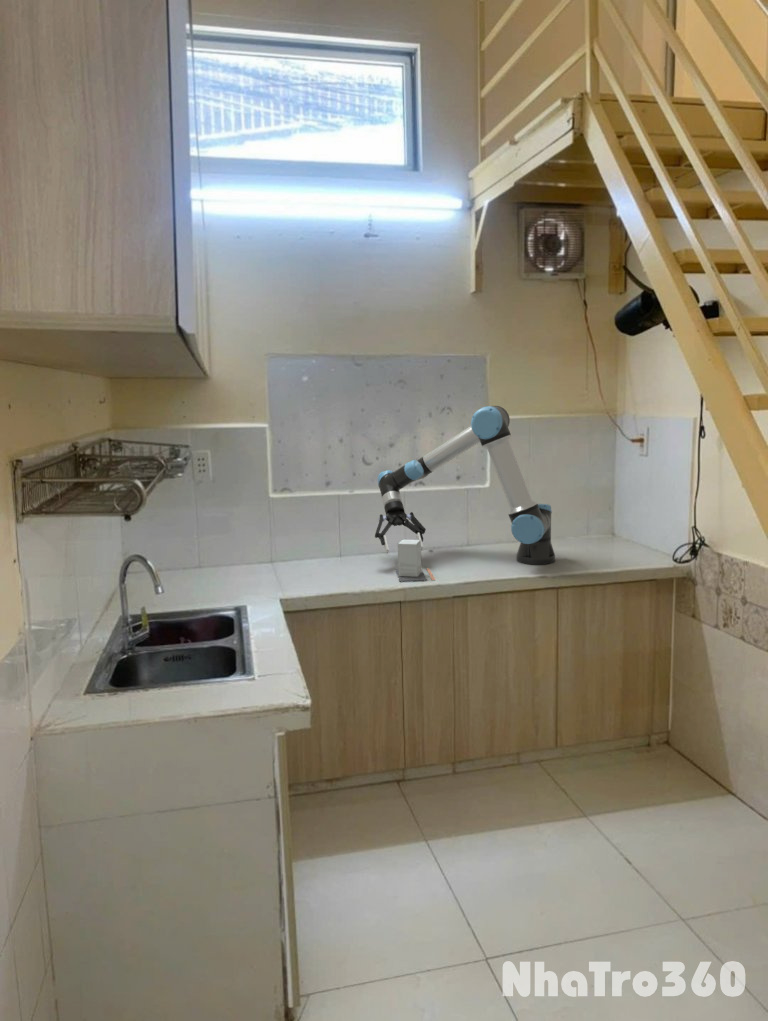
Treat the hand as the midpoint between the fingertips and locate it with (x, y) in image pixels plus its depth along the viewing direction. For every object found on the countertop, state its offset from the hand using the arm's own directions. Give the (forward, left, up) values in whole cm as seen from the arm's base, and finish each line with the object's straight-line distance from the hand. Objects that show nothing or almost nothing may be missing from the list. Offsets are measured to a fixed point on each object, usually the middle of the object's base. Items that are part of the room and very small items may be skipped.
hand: (404, 550), depth 263 cm
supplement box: (-1, +6, -8) cm, 10 cm away
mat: (-1, +7, -8) cm, 11 cm away
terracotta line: (-9, +7, -8) cm, 14 cm away
